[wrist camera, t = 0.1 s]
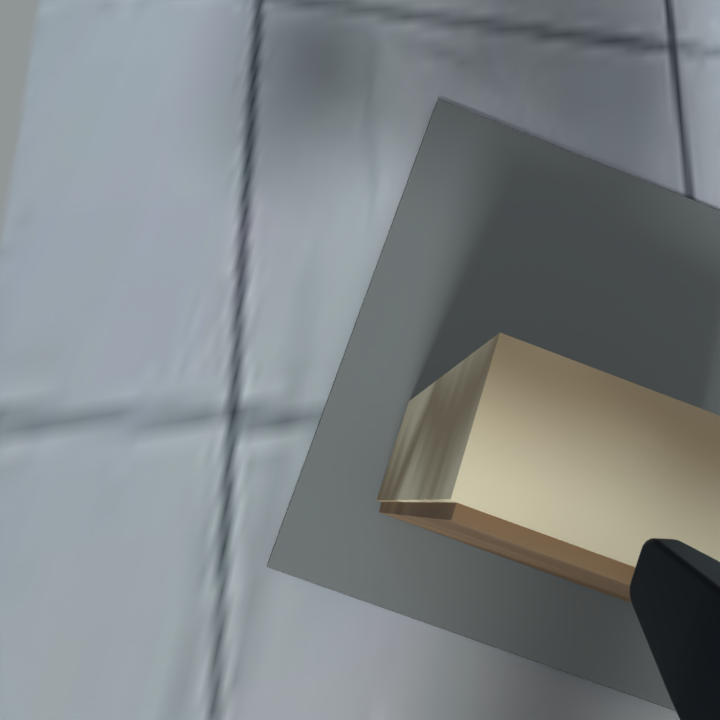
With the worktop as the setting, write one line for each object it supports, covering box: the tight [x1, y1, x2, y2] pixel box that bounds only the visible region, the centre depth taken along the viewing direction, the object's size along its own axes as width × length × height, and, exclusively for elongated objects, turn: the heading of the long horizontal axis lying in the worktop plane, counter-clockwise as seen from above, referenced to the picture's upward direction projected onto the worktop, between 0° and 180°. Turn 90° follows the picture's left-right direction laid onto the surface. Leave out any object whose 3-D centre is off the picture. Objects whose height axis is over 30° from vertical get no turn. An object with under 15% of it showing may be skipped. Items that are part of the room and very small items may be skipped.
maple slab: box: [377, 333, 720, 603], centre depth 19 cm, size 4×12×10 cm, turn 71°
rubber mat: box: [267, 99, 720, 711], centre depth 25 cm, size 21×18×1 cm
